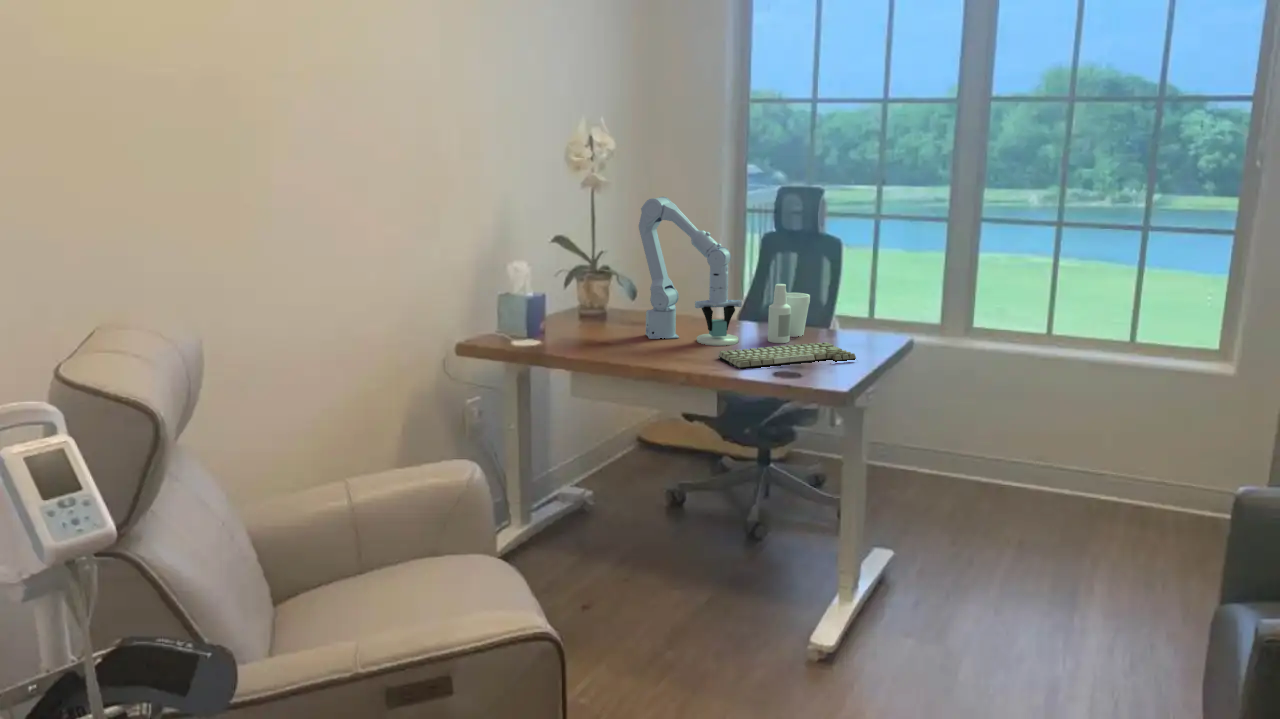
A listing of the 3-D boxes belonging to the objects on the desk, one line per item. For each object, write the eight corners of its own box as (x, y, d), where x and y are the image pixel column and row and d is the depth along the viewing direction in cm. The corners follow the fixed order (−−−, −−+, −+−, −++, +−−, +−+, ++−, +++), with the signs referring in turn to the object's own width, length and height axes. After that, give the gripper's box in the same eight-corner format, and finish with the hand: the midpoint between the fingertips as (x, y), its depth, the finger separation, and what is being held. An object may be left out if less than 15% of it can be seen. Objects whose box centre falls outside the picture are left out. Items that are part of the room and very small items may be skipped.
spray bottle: (788, 344, 315) (791, 286, 311) (766, 343, 316) (768, 285, 312) (790, 339, 321) (792, 283, 317) (768, 338, 323) (770, 282, 319)
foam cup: (809, 337, 324) (811, 297, 321) (780, 337, 324) (782, 297, 321) (805, 331, 333) (807, 292, 330) (777, 331, 334) (779, 292, 331)
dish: (702, 346, 311) (702, 342, 311) (692, 337, 323) (692, 334, 323) (743, 344, 313) (743, 341, 313) (732, 336, 326) (732, 332, 325)
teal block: (712, 336, 315) (712, 322, 314) (709, 333, 320) (709, 319, 319) (726, 336, 316) (726, 321, 315) (722, 333, 320) (723, 319, 319)
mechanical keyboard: (742, 374, 279) (743, 362, 278) (713, 360, 297) (714, 349, 296) (860, 364, 292) (861, 352, 291) (826, 351, 310) (826, 340, 309)
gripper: (699, 289, 309) (698, 333, 312) (744, 288, 312) (743, 331, 315) (693, 286, 316) (692, 328, 319) (738, 284, 319) (737, 327, 322)
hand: (717, 330), depth 318 cm, fingers closed on teal block, 4 cm apart
